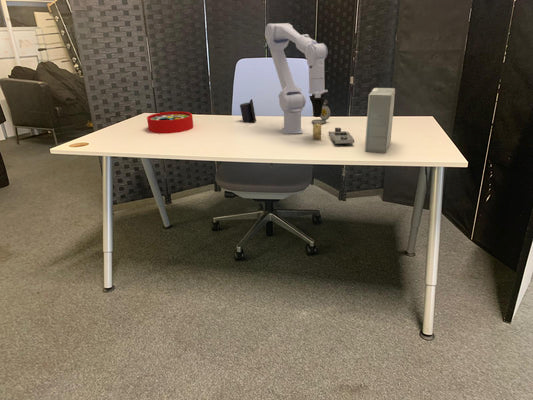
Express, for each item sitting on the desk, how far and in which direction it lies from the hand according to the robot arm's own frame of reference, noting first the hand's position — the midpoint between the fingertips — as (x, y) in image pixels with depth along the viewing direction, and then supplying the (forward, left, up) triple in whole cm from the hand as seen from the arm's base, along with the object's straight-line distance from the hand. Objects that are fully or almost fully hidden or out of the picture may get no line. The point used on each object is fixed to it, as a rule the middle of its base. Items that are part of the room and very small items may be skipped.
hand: (317, 115), depth 151 cm
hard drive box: (+12, +21, -10) cm, 26 cm away
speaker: (-35, -29, -10) cm, 47 cm away
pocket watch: (-29, +5, -10) cm, 32 cm away
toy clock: (-25, -64, -10) cm, 69 cm away
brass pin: (0, 0, -10) cm, 10 cm away
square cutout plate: (+2, +9, -10) cm, 13 cm away
